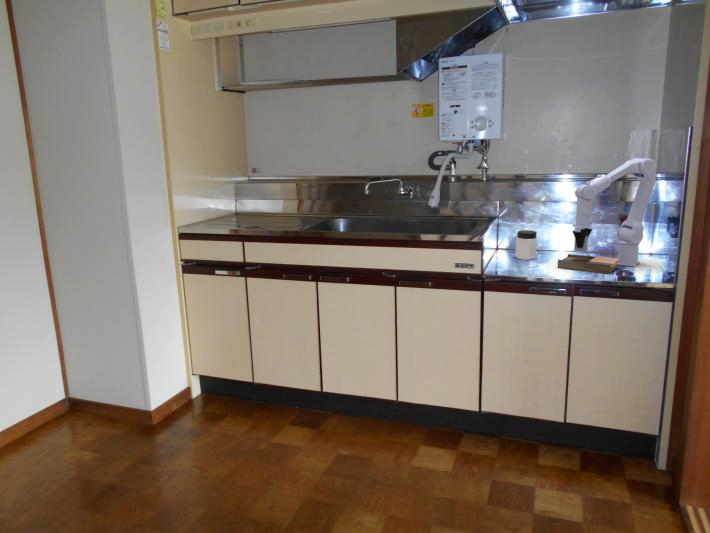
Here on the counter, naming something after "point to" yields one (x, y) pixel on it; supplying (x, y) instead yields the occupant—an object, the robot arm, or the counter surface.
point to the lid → (605, 261)
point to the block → (583, 245)
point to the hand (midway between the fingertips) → (581, 246)
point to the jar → (526, 245)
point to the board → (584, 264)
